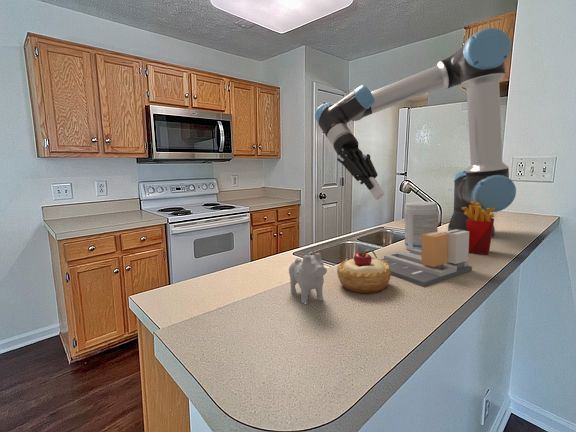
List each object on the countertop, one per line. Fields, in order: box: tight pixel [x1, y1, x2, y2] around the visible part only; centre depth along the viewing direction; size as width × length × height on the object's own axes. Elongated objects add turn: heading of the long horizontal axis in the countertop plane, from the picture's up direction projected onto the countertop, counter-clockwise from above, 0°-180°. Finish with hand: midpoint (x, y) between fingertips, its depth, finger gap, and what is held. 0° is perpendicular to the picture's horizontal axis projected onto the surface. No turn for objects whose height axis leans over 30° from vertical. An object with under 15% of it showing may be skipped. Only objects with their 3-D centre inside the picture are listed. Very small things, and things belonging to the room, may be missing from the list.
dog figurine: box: [288, 252, 328, 305], centre depth 68 cm, size 5×13×11 cm, turn 22°
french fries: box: [462, 201, 495, 256], centre depth 95 cm, size 9×8×15 cm
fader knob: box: [421, 231, 448, 270], centre depth 79 cm, size 5×4×9 cm
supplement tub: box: [404, 201, 439, 252], centre depth 101 cm, size 10×10×15 cm
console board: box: [380, 229, 473, 287], centre depth 83 cm, size 18×18×10 cm
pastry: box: [336, 248, 392, 294], centre depth 74 cm, size 12×12×9 cm
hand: (379, 196), depth 94 cm, fingers closed
